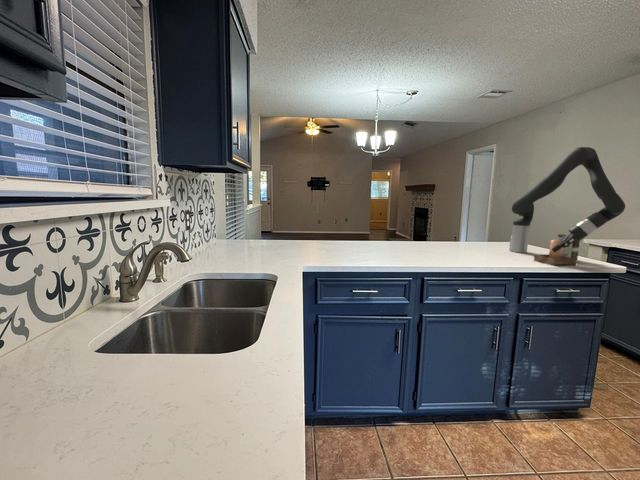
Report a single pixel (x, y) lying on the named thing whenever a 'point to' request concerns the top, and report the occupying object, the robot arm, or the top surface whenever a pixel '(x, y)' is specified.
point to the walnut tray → (555, 260)
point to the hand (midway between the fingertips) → (552, 249)
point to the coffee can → (571, 249)
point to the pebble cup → (558, 253)
